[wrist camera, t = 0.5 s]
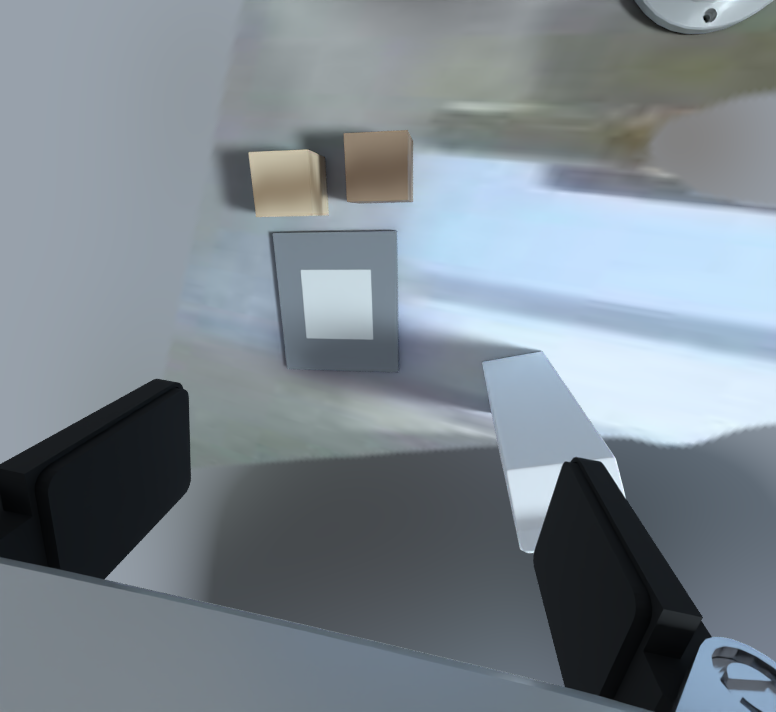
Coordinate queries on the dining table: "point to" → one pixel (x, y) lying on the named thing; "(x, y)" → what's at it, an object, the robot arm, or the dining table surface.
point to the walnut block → (379, 167)
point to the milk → (538, 436)
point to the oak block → (289, 183)
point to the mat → (339, 300)
